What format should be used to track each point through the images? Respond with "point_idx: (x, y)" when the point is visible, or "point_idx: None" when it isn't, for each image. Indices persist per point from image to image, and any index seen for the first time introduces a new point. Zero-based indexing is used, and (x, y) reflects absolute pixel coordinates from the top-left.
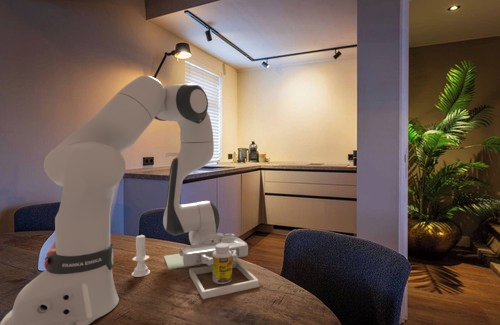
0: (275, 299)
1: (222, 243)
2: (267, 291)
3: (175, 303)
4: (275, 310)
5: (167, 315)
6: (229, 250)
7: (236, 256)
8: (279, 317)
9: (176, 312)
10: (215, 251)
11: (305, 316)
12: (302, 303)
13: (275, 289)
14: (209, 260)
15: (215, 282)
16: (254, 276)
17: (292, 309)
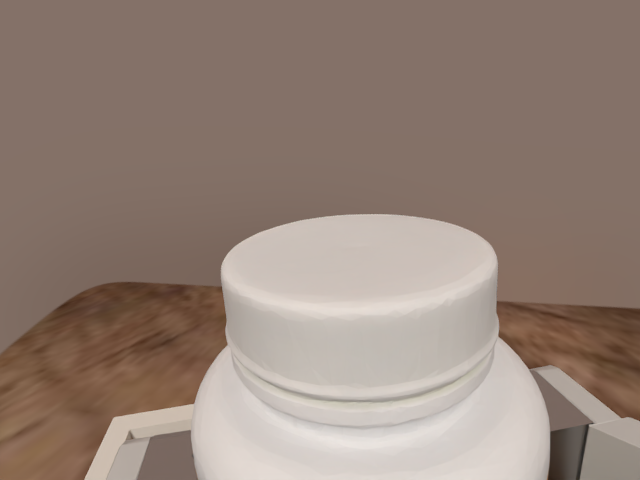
0: (149, 350)
1: (337, 290)
2: (123, 404)
3: (637, 377)
4: (202, 310)
5: (602, 321)
6: (215, 392)
7: (140, 441)
8: (214, 292)
9: (574, 330)
10: (493, 380)
11: (146, 291)
12: (87, 325)
13: (66, 414)
14: (538, 369)
15: None
16: (87, 476)
17: (149, 309)
